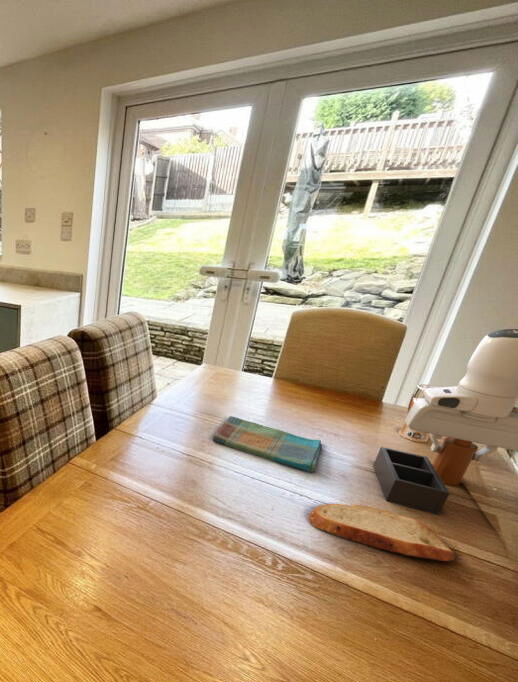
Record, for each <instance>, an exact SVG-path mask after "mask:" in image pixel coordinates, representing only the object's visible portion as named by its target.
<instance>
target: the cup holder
mask: <svg viewBox="0 0 518 682" xmlns="http://www.w3.org/2000/svg"><path fill="white" fill-rule="evenodd" d="M432 464H433V463H432V462H431V461H430V459H429V457H428V456H425V455H420V454H415V453H411V452H408V451H402V450H399V449H393V448H389V447H385V446H380V448H379V451H378V453H377V456H376V457H375V460H374V462H373V465H372V467H373V470H374V472H375V475H376V478H377V481H378V483H379V486H380V488H381V491H382V493H383V496H384V499H385V501H386V502H388V503H393V504H397V505H400V506H405V507H408V508H412V509H415V510H419V511H422V512H425V513H430V514H434V515H437V516H439V515H440V513H441V511H442V510H443V508H444V505H445V504H446V502H447V500H448V498H449V495H450V491H449V489H448V488H447V486H446V484H444V483H443V482H442V480H441V478H440V477H439V475H438V474H437V472H436V470H435V469H434V467H433V465H432Z"/></svg>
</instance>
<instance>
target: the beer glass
mask: <svg viewBox="0 0 518 682" xmlns="http://www.w3.org/2000/svg"><path fill="white" fill-rule="evenodd" d="M437 387H438V386H437V385H432V384H418V385H417V386H416V388H415V390H414V392H413V394H412V395H411V398H410V400H409V403H408V406H407V413H406V415H407V414H408V413H409V411H410V409H411V408H412V406H413V405H414V403H415V402H416V401H417V400H419V399H421V398H425V397H424V395H423V393H424V390H425V389H427V388H437ZM398 435H399V436H401V437H402V438H403V439H407V440H409V441H412V442H417V443H426V442H428V441H429V437H430V433H425V432H420V431H415V430H411V429H410V428H409V427H408V426H407V425H406V423H405V422H404V424H403V426H402V427H401V428H400V429H399V431H398Z"/></svg>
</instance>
